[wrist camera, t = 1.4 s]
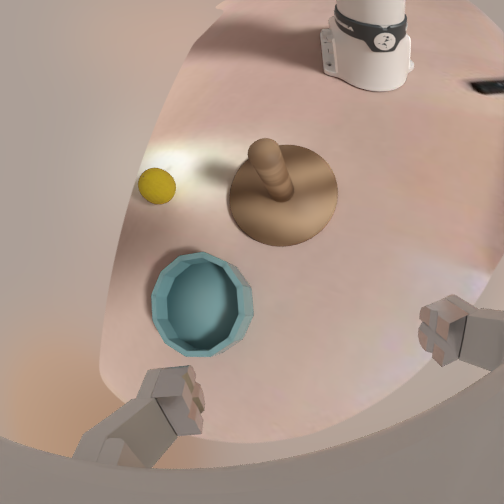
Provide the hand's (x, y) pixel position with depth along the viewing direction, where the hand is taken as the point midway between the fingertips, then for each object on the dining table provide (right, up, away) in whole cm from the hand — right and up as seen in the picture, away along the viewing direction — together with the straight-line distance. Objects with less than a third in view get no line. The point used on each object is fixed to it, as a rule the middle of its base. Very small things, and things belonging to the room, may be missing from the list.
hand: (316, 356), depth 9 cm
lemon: (-16, +13, +38) cm, 43 cm away
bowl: (-9, -4, +32) cm, 33 cm away
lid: (+2, +12, +32) cm, 35 cm away
